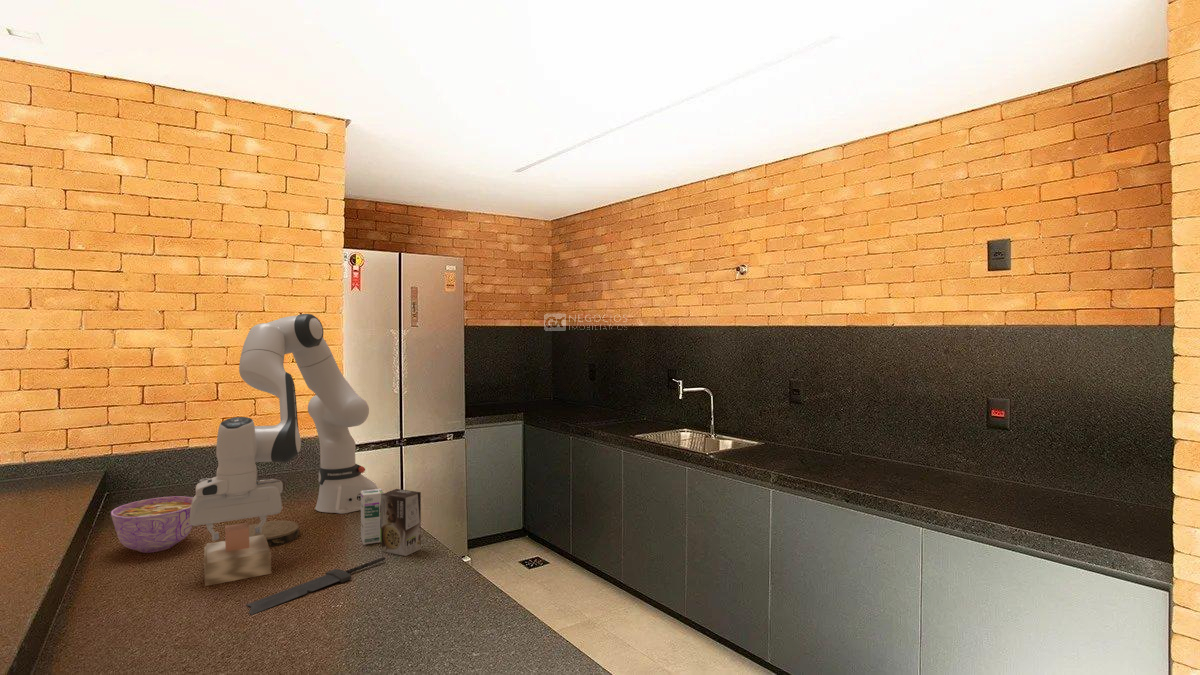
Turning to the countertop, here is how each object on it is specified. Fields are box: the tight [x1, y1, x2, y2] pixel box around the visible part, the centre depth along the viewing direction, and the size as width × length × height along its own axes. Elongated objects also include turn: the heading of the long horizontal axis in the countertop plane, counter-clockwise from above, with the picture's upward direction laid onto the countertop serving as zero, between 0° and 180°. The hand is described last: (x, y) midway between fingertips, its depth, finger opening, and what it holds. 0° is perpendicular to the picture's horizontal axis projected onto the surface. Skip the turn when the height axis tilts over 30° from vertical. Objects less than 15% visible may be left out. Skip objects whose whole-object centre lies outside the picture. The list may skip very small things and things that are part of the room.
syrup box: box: [360, 488, 384, 546], centre depth 179 cm, size 6×6×14 cm
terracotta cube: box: [224, 522, 250, 552], centre depth 157 cm, size 5×5×5 cm
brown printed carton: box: [381, 488, 422, 557], centre depth 172 cm, size 9×6×16 cm
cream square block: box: [203, 535, 272, 587], centre depth 157 cm, size 14×14×6 cm
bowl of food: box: [110, 495, 194, 554], centre depth 172 cm, size 20×20×12 cm
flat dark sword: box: [245, 556, 386, 616], centre depth 149 cm, size 7×35×2 cm, turn 144°
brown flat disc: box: [248, 519, 300, 548], centre depth 180 cm, size 16×16×3 cm
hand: (237, 536), depth 157 cm, fingers open, 8 cm apart
